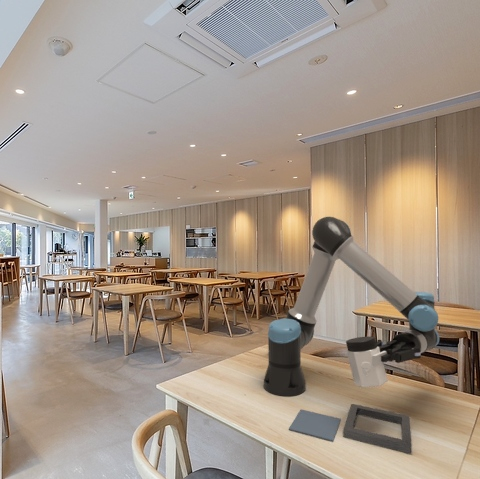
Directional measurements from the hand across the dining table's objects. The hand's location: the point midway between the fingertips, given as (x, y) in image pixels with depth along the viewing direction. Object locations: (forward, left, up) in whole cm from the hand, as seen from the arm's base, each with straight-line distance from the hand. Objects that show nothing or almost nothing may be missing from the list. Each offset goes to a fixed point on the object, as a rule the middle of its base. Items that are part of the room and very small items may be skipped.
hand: (369, 359), depth 87 cm
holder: (+2, +3, -20) cm, 20 cm away
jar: (0, +3, -8) cm, 8 cm away
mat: (-14, -2, -20) cm, 25 cm away
